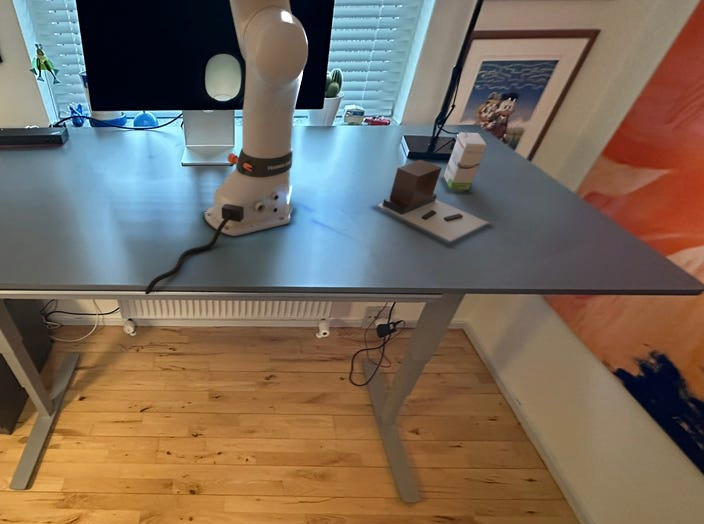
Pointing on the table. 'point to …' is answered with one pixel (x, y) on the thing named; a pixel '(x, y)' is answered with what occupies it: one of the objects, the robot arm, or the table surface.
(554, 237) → the table surface
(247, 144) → the robot arm
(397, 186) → the eraser
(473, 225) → the whiteboard
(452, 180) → the ink box
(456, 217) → the bar
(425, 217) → the marker stroke
